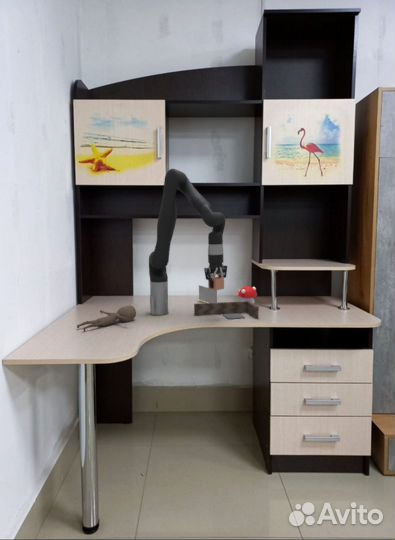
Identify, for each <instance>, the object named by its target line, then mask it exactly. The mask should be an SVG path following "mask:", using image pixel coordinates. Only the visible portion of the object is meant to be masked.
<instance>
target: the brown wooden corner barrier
mask: <svg viewBox="0 0 395 540" xmlns="http://www.w3.org/2000/svg"><path fill="white" fill-rule="evenodd" d="M193 306H194V308H193V311H194V313H193V315H194V317H196V316H197V317H199V316H212V315H213V316H215V315H223V314H234V313H240V314H247V315H249V316H250V317H252V318H254V319H255V320H258V319H259V312H260V311H259V306H258V305H256V304H255V303H254V304H253V303H251V302H250V301H241V300H240V301H224V302H221V301H220V302H219V301H218V302H217V303H208V302H206V303H200V302H198V303H194V304H193Z"/></svg>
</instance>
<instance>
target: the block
mask: <svg viewBox="0 0 395 540" xmlns="http://www.w3.org/2000/svg"><path fill="white" fill-rule="evenodd" d="M207 281H208V283H207V284H208V286H207V288H208V289H211V290H217V291H219V290H224V289H225V278H222V277H218V276H215V277H214V280H213V281H214V288H210V287H209V280H207Z"/></svg>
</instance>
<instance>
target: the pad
mask: <svg viewBox="0 0 395 540" xmlns="http://www.w3.org/2000/svg"><path fill="white" fill-rule="evenodd" d="M222 316H223V317H224V318H225V319H227V320H241V318H243V319H246V317H245V316H244V315H242V313H234V314H222Z"/></svg>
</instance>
